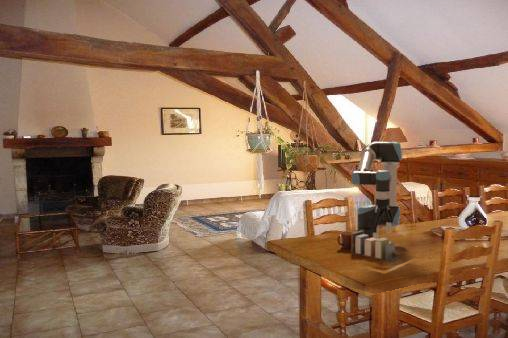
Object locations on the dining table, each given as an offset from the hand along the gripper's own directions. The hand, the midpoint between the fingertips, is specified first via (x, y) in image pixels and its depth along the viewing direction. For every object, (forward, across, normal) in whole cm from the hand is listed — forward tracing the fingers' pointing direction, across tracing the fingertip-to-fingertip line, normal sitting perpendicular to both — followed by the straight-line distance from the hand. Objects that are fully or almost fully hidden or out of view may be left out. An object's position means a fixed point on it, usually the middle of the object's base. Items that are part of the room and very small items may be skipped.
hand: (382, 236), depth 256 cm
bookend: (+12, -1, -7) cm, 13 cm away
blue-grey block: (+12, -1, +13) cm, 17 cm away
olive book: (+12, -1, 0) cm, 12 cm away
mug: (+14, +2, +26) cm, 29 cm away
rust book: (+12, -1, +6) cm, 13 cm away
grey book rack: (+13, 0, +4) cm, 14 cm away
